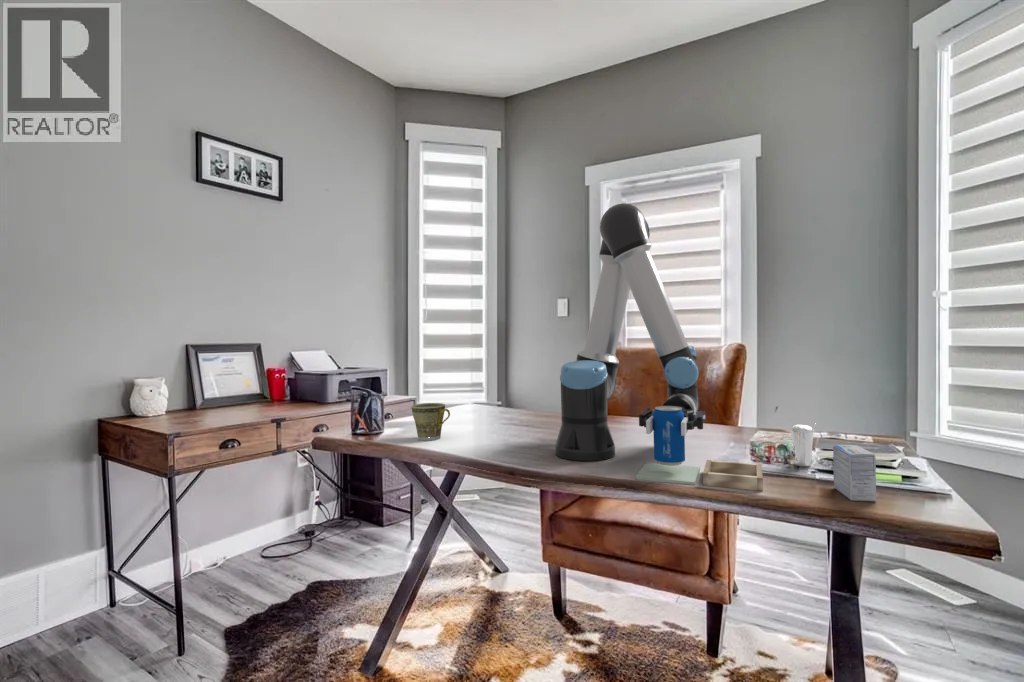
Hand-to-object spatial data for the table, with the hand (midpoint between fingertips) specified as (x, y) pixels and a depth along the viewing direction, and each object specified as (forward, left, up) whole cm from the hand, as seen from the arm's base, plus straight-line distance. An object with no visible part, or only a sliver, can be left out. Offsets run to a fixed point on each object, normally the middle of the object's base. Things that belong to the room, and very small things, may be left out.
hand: (665, 428), depth 112 cm
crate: (+3, +13, -11) cm, 18 cm away
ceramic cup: (-57, -46, -11) cm, 74 cm away
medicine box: (+17, +29, -11) cm, 36 cm away
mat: (-4, +3, -11) cm, 12 cm away
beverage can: (-4, +3, -9) cm, 10 cm away
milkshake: (-3, +35, -11) cm, 37 cm away
